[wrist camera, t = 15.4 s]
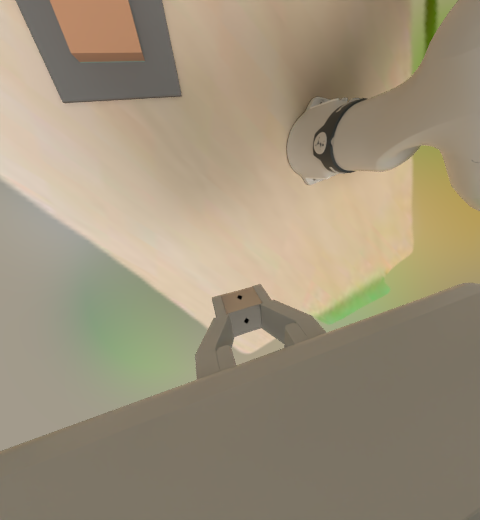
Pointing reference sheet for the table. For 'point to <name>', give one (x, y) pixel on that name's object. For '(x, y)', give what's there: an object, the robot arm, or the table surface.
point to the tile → (99, 30)
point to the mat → (109, 73)
